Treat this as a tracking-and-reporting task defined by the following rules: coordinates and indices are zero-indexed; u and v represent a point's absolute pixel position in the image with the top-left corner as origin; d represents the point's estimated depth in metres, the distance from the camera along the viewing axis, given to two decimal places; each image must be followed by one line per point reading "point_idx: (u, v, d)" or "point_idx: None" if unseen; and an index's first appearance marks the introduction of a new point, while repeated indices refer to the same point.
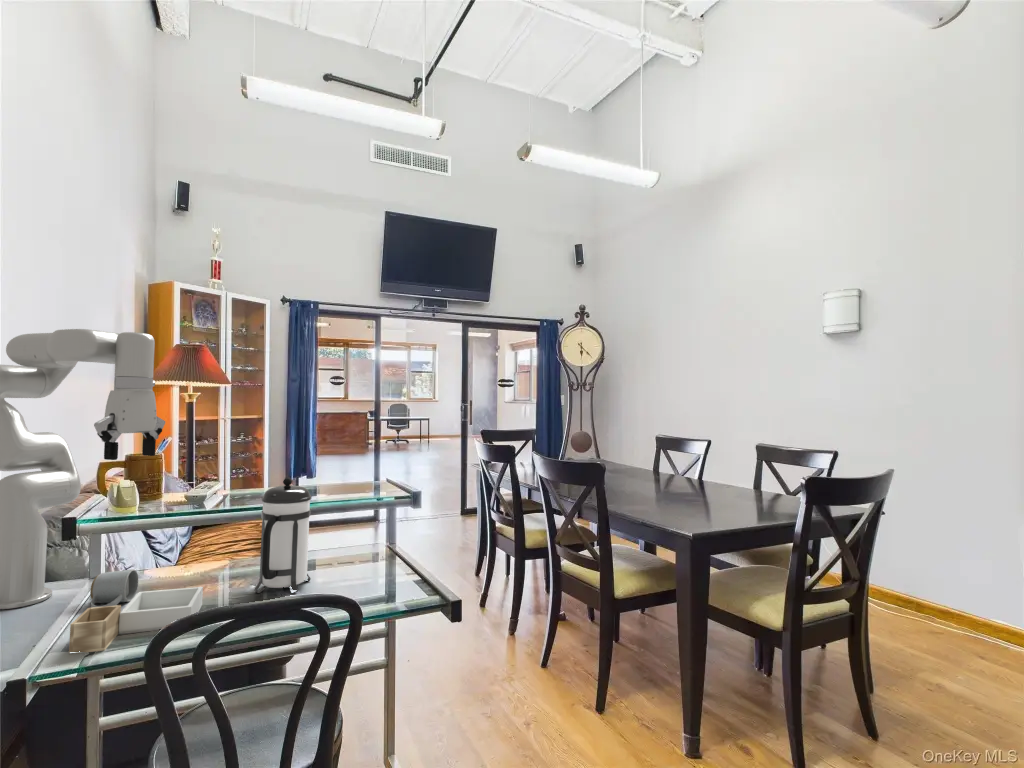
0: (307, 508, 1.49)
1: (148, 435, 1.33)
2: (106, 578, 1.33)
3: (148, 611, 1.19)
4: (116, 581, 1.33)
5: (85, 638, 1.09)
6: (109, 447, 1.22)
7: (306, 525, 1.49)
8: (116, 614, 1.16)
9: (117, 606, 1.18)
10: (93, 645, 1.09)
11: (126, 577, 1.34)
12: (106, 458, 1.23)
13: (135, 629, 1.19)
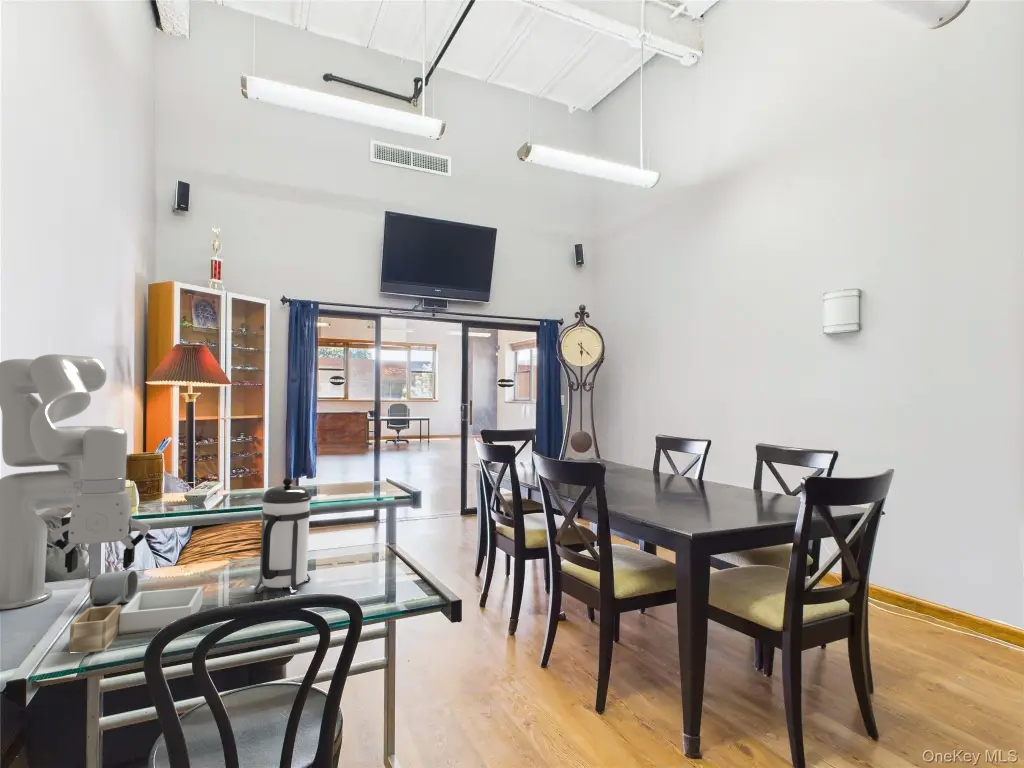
0: (307, 508, 1.49)
1: None
2: (105, 579, 1.33)
3: (148, 611, 1.19)
4: (116, 582, 1.33)
5: (85, 638, 1.09)
6: (134, 552, 1.16)
7: (306, 525, 1.49)
8: (116, 614, 1.16)
9: (117, 606, 1.18)
10: (93, 645, 1.09)
11: (125, 578, 1.34)
12: (127, 566, 1.15)
13: (135, 629, 1.19)
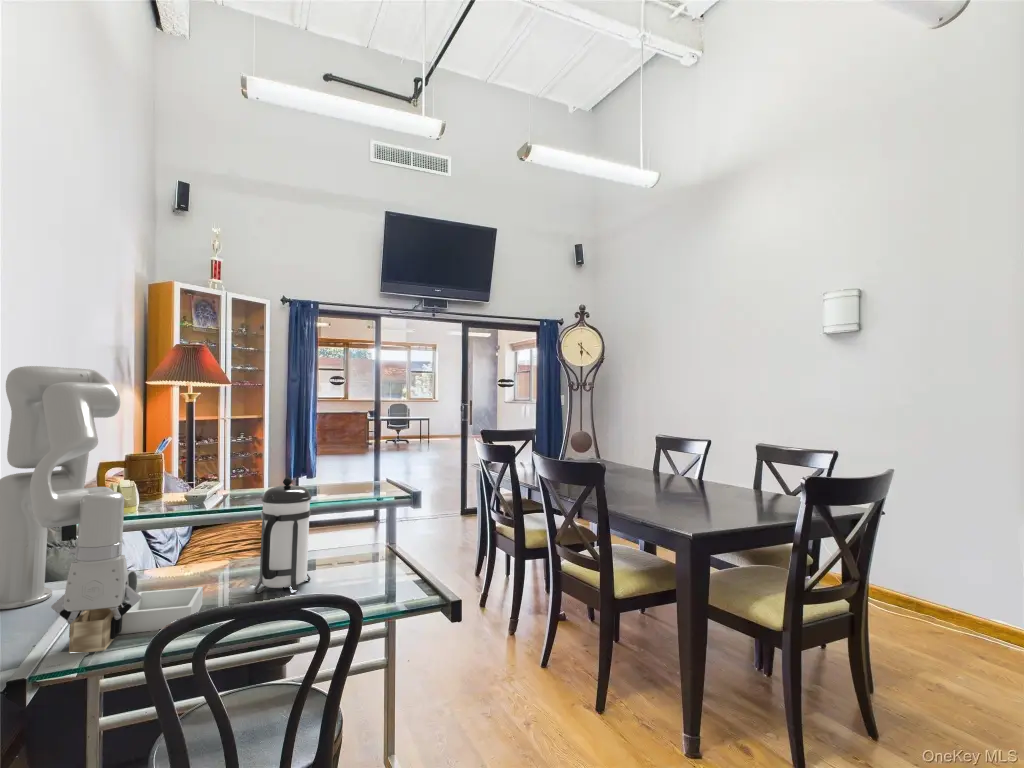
0: (307, 508, 1.49)
1: None
2: None
3: (148, 611, 1.19)
4: None
5: (85, 638, 1.09)
6: (121, 621, 1.16)
7: (306, 525, 1.49)
8: None
9: None
10: (93, 644, 1.09)
11: None
12: (114, 636, 1.14)
13: (135, 629, 1.19)
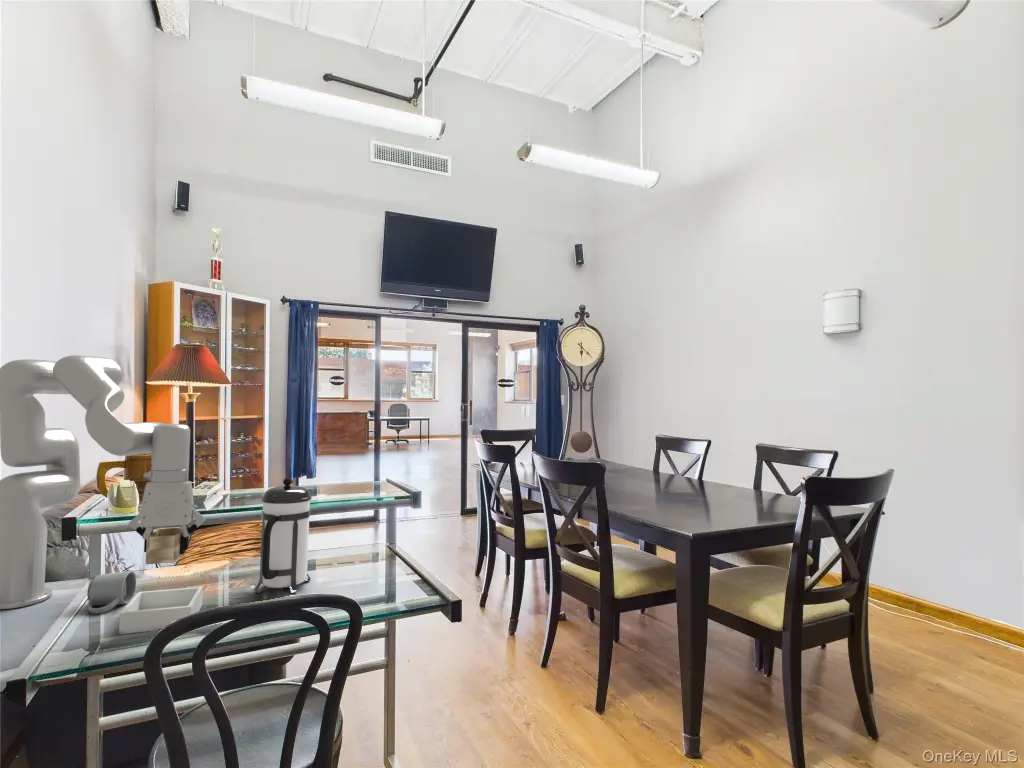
0: (307, 508, 1.49)
1: None
2: (103, 580, 1.32)
3: (148, 611, 1.19)
4: (114, 583, 1.32)
5: (159, 550, 1.22)
6: None
7: (306, 525, 1.49)
8: None
9: None
10: (166, 557, 1.23)
11: (123, 579, 1.33)
12: (183, 552, 1.27)
13: (135, 629, 1.19)
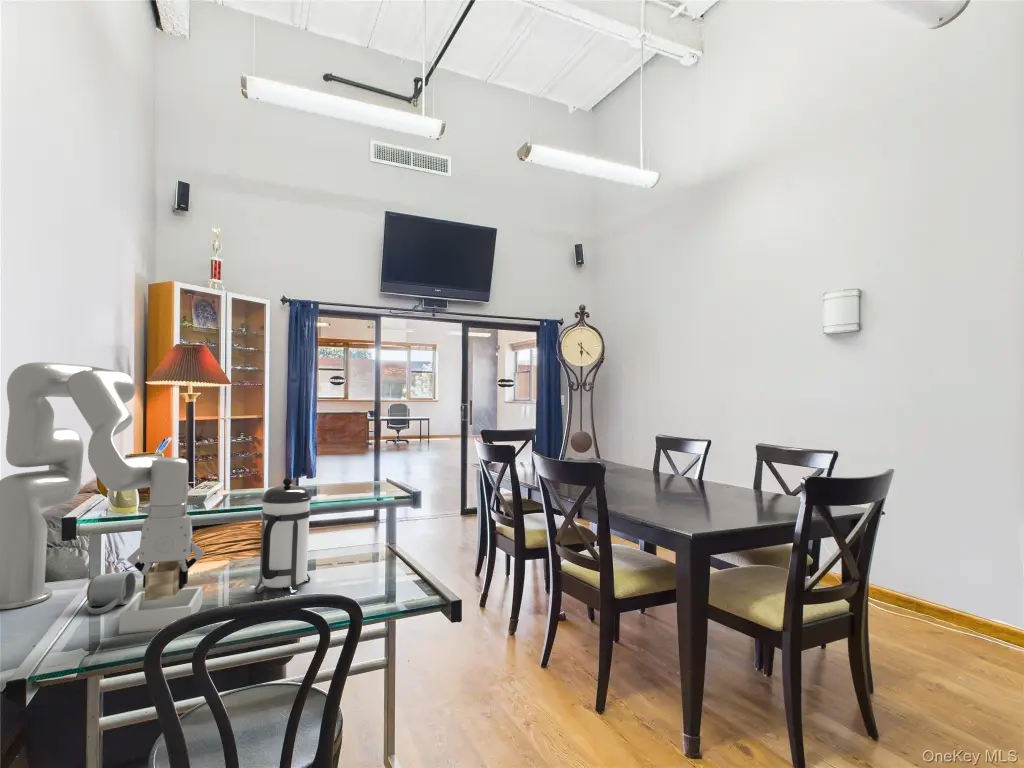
0: (307, 508, 1.49)
1: None
2: (102, 581, 1.32)
3: (148, 611, 1.19)
4: (113, 583, 1.32)
5: (158, 586, 1.22)
6: None
7: (306, 525, 1.49)
8: None
9: None
10: (165, 592, 1.22)
11: (123, 579, 1.32)
12: (182, 587, 1.27)
13: (135, 629, 1.19)
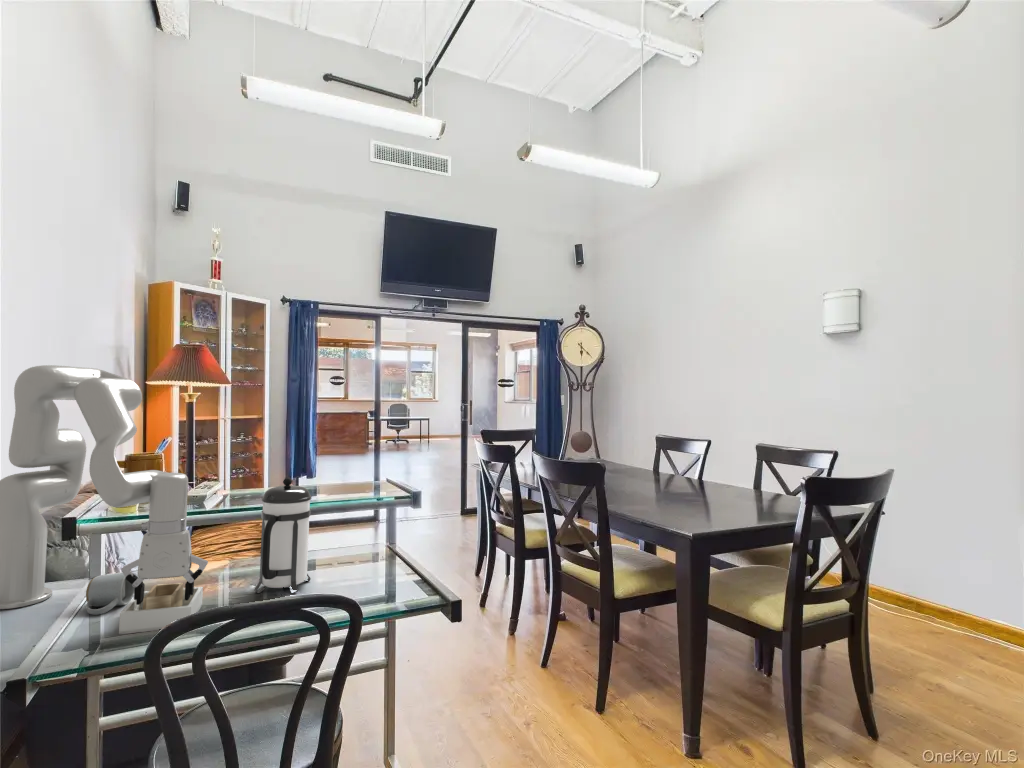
0: (307, 508, 1.49)
1: None
2: (101, 581, 1.31)
3: (148, 611, 1.19)
4: (112, 584, 1.31)
5: None
6: None
7: (306, 525, 1.49)
8: (180, 590, 1.29)
9: (180, 583, 1.31)
10: None
11: (122, 580, 1.32)
12: (188, 598, 1.27)
13: (135, 629, 1.19)
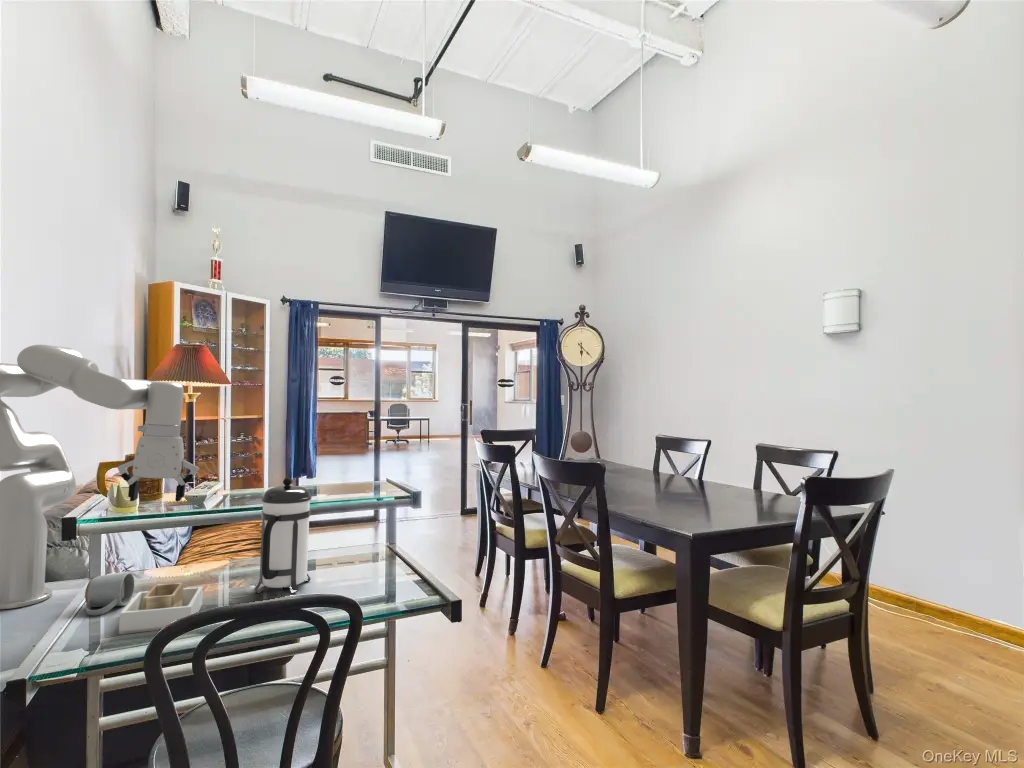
0: (307, 508, 1.49)
1: None
2: (101, 582, 1.31)
3: (148, 611, 1.19)
4: (111, 585, 1.31)
5: None
6: None
7: (306, 525, 1.49)
8: (180, 590, 1.29)
9: (180, 583, 1.31)
10: None
11: (121, 580, 1.32)
12: (179, 500, 1.35)
13: (135, 629, 1.19)
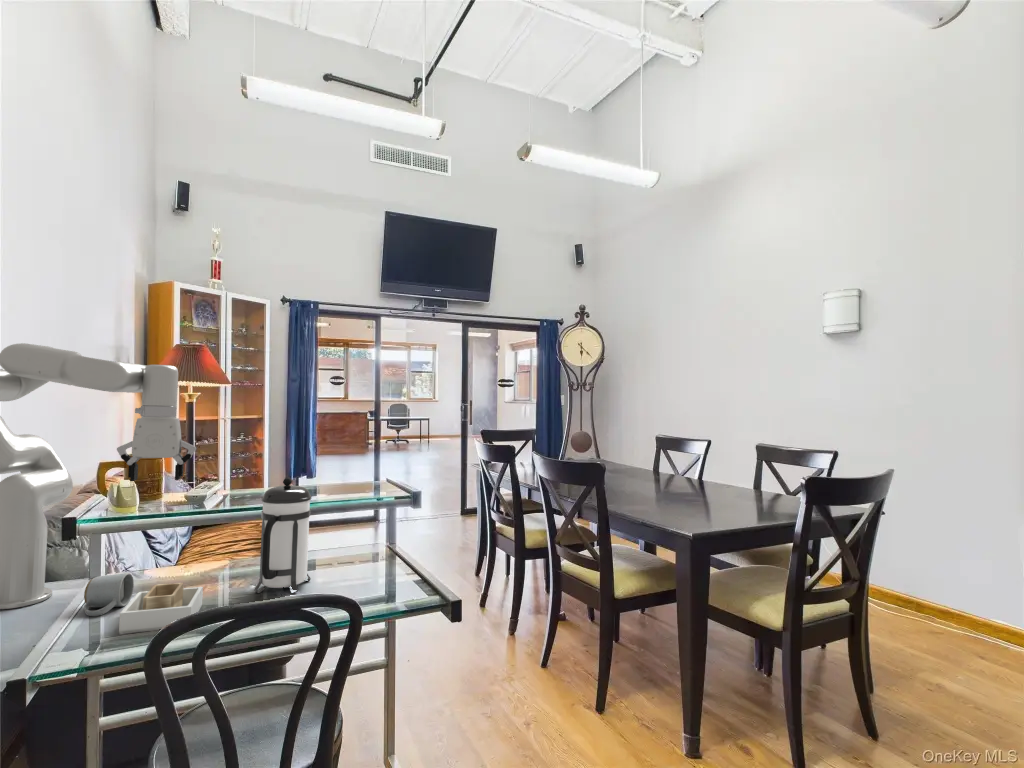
0: (307, 508, 1.49)
1: None
2: (100, 582, 1.31)
3: (148, 611, 1.19)
4: (111, 585, 1.30)
5: None
6: None
7: (306, 525, 1.49)
8: (180, 590, 1.29)
9: (180, 583, 1.31)
10: None
11: (121, 581, 1.31)
12: (178, 479, 1.39)
13: (135, 629, 1.19)
